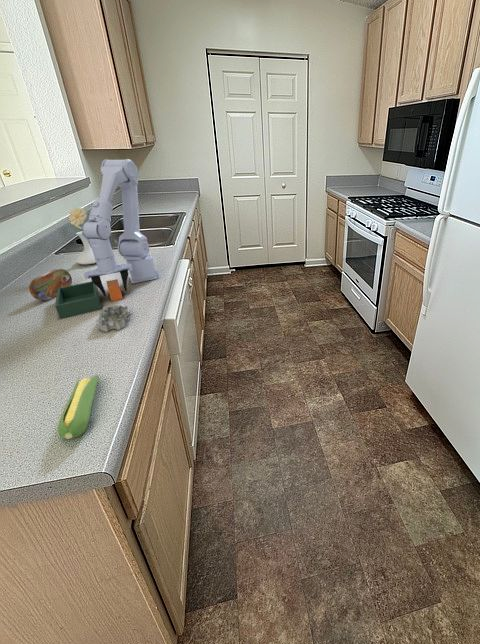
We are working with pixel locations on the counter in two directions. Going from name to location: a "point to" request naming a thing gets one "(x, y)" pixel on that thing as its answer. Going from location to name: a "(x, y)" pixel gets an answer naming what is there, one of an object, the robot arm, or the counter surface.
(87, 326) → the counter surface
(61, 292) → the bin
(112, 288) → the orange block
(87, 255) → the flower in vase
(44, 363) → the counter surface
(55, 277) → the tin
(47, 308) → the counter surface
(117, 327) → the grey stone
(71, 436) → the edible corn
